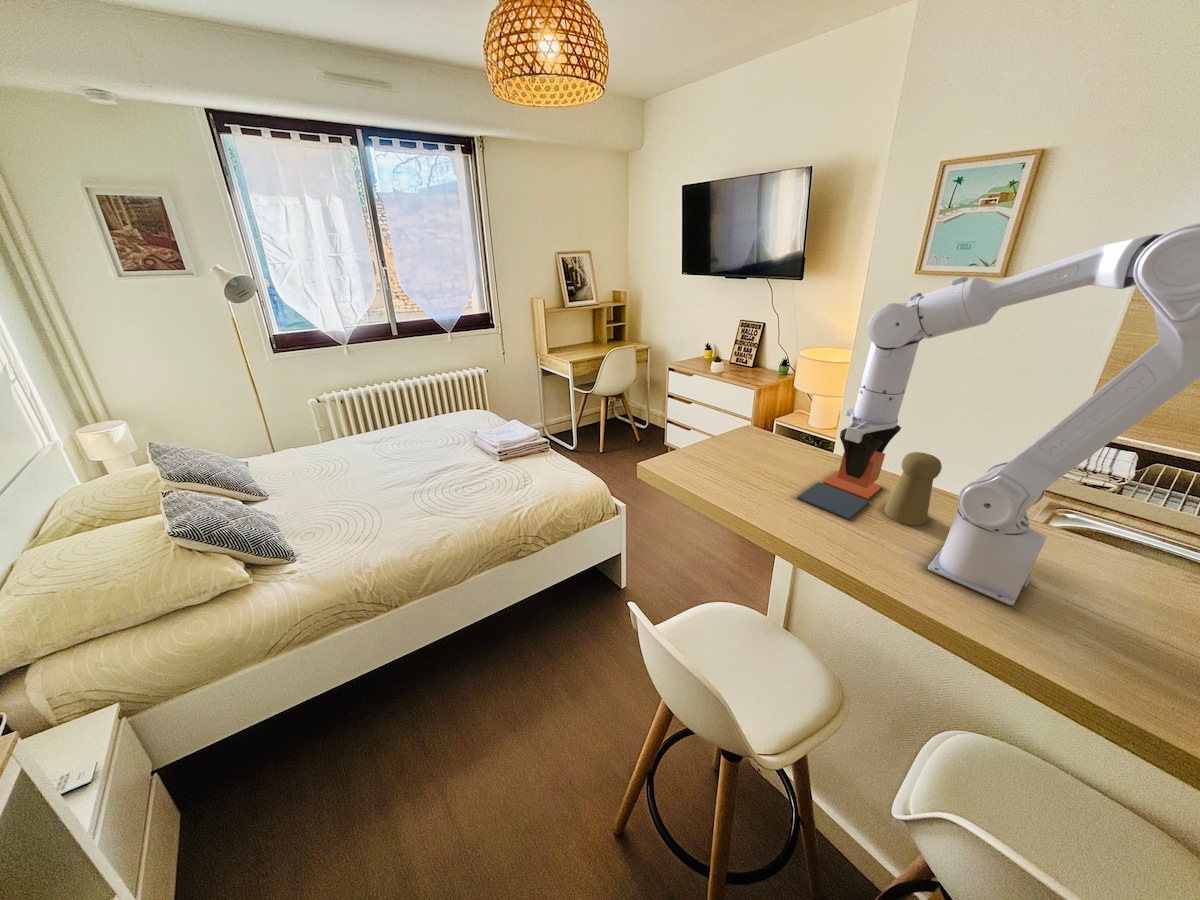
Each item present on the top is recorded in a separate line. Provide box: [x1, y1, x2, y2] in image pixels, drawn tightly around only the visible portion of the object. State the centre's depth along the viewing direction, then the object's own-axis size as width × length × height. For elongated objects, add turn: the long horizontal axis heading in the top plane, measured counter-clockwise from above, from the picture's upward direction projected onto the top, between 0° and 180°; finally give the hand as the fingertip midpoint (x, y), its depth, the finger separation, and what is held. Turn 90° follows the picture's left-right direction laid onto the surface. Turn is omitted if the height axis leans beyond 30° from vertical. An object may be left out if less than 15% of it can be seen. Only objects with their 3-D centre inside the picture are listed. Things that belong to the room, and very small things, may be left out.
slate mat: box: [796, 481, 870, 521], centre depth 81 cm, size 9×8×1 cm
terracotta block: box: [837, 451, 886, 488], centre depth 73 cm, size 4×4×4 cm
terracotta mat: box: [822, 470, 883, 501], centre depth 86 cm, size 8×6×1 cm
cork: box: [883, 451, 943, 527], centre depth 75 cm, size 6×6×11 cm
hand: (860, 470), depth 74 cm, fingers closed on terracotta block, 4 cm apart
